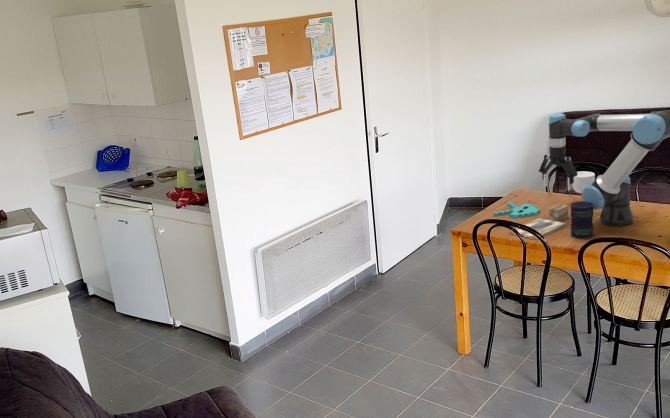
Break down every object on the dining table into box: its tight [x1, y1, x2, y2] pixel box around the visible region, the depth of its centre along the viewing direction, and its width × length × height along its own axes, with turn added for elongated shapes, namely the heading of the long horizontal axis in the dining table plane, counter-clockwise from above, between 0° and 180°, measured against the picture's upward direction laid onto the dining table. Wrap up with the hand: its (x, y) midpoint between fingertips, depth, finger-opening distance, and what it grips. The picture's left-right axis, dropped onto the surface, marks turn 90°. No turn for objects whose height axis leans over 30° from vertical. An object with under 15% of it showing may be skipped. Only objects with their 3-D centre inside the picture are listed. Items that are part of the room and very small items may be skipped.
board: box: [508, 217, 567, 239], centre depth 319 cm, size 15×24×2 cm, turn 128°
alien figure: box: [493, 202, 541, 219], centre depth 348 cm, size 20×2×20 cm
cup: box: [572, 170, 596, 202], centre depth 345 cm, size 12×12×17 cm
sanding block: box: [548, 203, 569, 222], centre depth 330 cm, size 5×9×6 cm, turn 128°
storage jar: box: [570, 201, 594, 240], centre depth 304 cm, size 10×10×15 cm
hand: (557, 188), depth 326 cm, fingers open, 13 cm apart
